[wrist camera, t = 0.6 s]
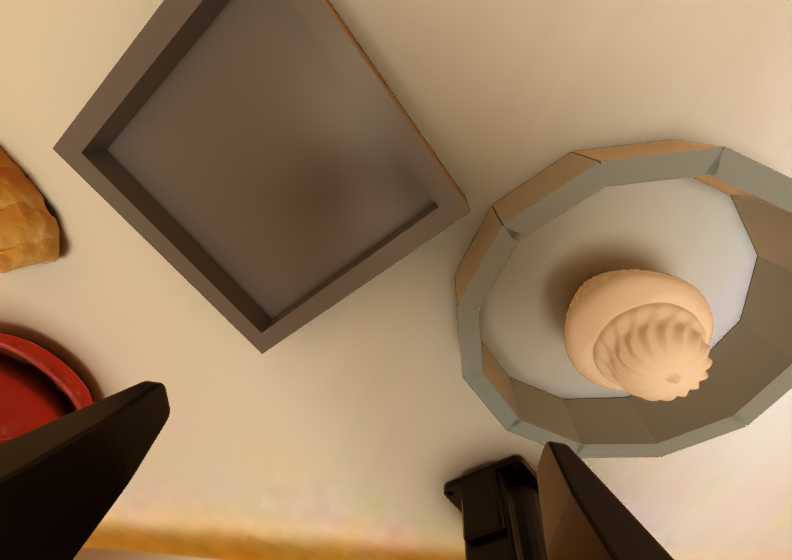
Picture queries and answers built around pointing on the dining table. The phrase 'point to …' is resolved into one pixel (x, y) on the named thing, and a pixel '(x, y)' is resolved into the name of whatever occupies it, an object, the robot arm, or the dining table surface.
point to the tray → (261, 158)
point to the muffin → (640, 333)
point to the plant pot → (35, 387)
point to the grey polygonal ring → (731, 358)
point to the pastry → (24, 221)
